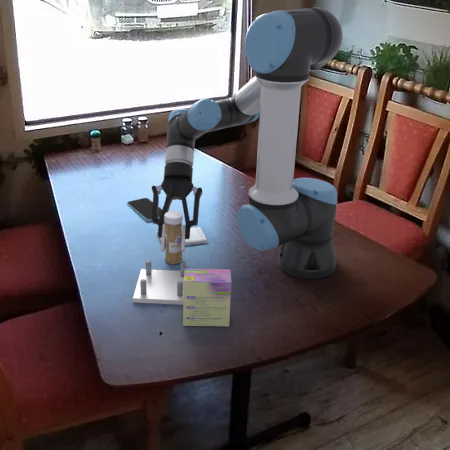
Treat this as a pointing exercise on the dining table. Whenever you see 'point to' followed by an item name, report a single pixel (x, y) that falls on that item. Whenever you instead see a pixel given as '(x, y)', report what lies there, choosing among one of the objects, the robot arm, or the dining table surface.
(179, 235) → the sprinkles bottle
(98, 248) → the dining table surface
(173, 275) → the pin tray
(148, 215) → the smartphone
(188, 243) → the hard drive
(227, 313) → the box
